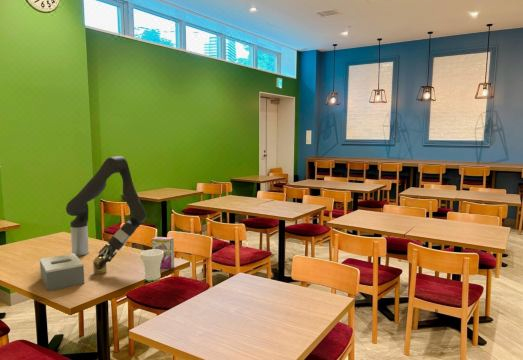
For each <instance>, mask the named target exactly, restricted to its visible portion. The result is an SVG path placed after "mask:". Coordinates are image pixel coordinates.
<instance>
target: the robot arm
mask: <svg viewBox="0 0 523 360" xmlns="http://www.w3.org/2000/svg"><path fill="white" fill-rule="evenodd" d="M130 171H131V170H130V166H129V163H128V162H127V159H126V158H125V157H124V156H122V155H118V156H117V155H115V156H109V157H107V158H106V159H105V160H104V162H103V163H102V165H101V166H100V167H99V169H98V170H97V172H96V173H95V174H94V175H93V176H92V177H91V178H90V179H89V181H87V183H86V184H85V185H84V187H83V188H82V189H81V190H80V191H78V193H77V194H76V195H75V196H74V197H73V198H71V199H70V200H69V201H68V202H67V204H66V206H65V213H66V214H67V215H68V216H71V217H74V219H73V220H71V221H70V223H69V224H70V236H71V237H70V239H71V254H73V253H75V255H76V256H77V257H78V256H85V255H87V254H89V252H90V251H89V250H90V249H89V247H90V246H89V230H88V229H89V227H88V222H89V213H90V212H89V204H88V203H89V202H90V201H92V200H94V199H95V198H97V197H99V196H100V195H101V193H102V192H103V191H104V190H105V189H106V186H107V181H108V179H109V178H110V177H112V175H115V174H119V175H120V176H121V180H122V195H123V197H124V200H125V202H126V203H125V204H126V205H127V206H128V208H129V210H130V213H131V216H130V217H129V218H128V220H127V221H126V222H124V224H122V225H121V227H120V228H119V229H118V230H117V231H116V232H115V233H114V234H113V235H112V236H111V237H110V238H109V240H108V241H107V243H108V244H105V245H103V247H102V248H101V249H100V250H99V251H98V255H97V257H103V258H104V260H102V261H101V263H100V264H99V266H100V267H101V268H102V267H103V266H104V265H105V264H106V265H107V263H108V262H109V263H111V261H112V260H113V258H114V257H115V256H117V251H120V250H121V249H122V248H123V246H124V245H126V243H127V242H128V240H130V238H131V236H132V235H134V233H135V232H136V230H137V229H138V228H139V227H140V226H141V225H142V224H143V223H144V222H145V220H146V219H147V212H146V210H145V208H144V206H143V204H142V203H141V200H140V197H139V195H138V193H137V189H136V188H135V185H134V182H133V178H132V175H131V172H130ZM116 250H117V251H116Z"/></svg>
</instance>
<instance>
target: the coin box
mask: <svg viewBox="0 0 523 360" xmlns="http://www.w3.org/2000/svg"><path fill="white" fill-rule="evenodd" d="M39 265H40V266H39V269H40V279H41V280H42V283H43V285H44V287H45V289H46V291H47V292H51V291H54V290H55V291H56V290H60V289H65V288H69V287H74V286H78V285H83V284H85V270H84V269H85V268H84V262H83V261H82V260H81V259H80V258H79V257H78V256H76V255H75V253H73V254H72V253H69V254H63V255H62V254H61V255H56V256H51V257H45V258H39Z"/></svg>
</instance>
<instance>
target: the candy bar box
mask: <svg viewBox="0 0 523 360" xmlns="http://www.w3.org/2000/svg"><path fill="white" fill-rule="evenodd" d="M151 249H158V250H162V251H163V252H164V256H163V258H162V261H161V265H160V269H173V268H174V266H175V238H174V237H164V236H154V237H153V238H151Z"/></svg>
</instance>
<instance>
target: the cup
mask: <svg viewBox="0 0 523 360" xmlns="http://www.w3.org/2000/svg"><path fill="white" fill-rule="evenodd" d="M163 256H164V252H163V251H162V250H158V249H152V248H151V249H146V250H144V251H141V252H140V259H141V260H142V263H143V266H144V271H145V272H144V280H145V281H147V282H148V283H151V282H155V283H156V282H158V280H160V279H161V268H160V265H161V261H162V258H163Z"/></svg>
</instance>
